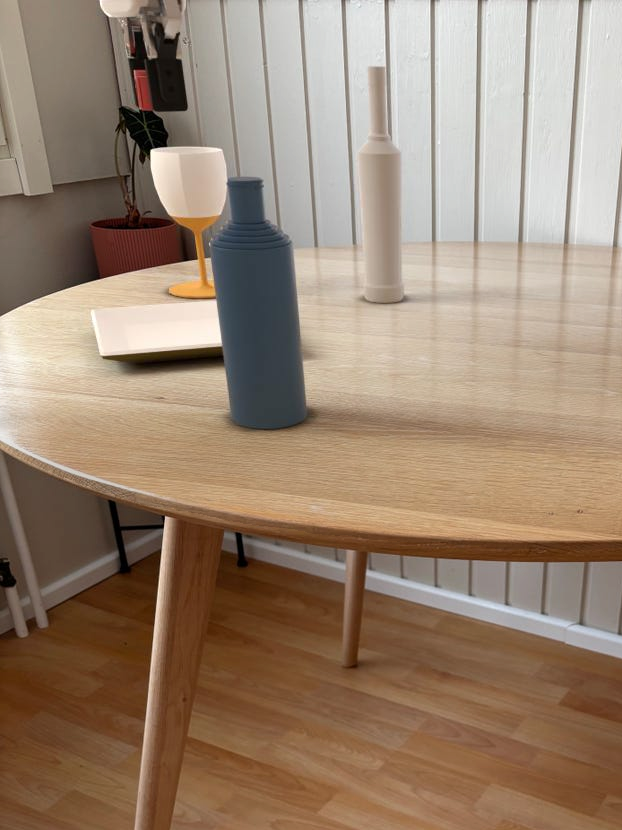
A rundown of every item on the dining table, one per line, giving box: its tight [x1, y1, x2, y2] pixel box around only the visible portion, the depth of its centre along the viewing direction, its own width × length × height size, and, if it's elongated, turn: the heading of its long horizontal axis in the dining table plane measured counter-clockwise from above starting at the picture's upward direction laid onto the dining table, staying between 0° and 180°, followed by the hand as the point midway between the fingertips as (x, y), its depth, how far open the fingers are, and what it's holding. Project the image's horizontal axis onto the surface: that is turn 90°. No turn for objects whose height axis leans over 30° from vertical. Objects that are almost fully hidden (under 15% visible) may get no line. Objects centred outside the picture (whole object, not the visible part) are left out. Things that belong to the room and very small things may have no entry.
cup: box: [150, 146, 228, 299], centre depth 116 cm, size 9×9×16 cm
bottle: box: [356, 65, 405, 304], centre depth 111 cm, size 5×5×25 cm
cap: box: [134, 70, 155, 112], centre depth 86 cm, size 4×4×3 cm
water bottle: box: [208, 176, 308, 430], centre depth 76 cm, size 6×6×18 cm
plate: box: [90, 300, 223, 364], centre depth 99 cm, size 19×19×2 cm
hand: (161, 107), depth 87 cm, fingers closed on cap, 3 cm apart
